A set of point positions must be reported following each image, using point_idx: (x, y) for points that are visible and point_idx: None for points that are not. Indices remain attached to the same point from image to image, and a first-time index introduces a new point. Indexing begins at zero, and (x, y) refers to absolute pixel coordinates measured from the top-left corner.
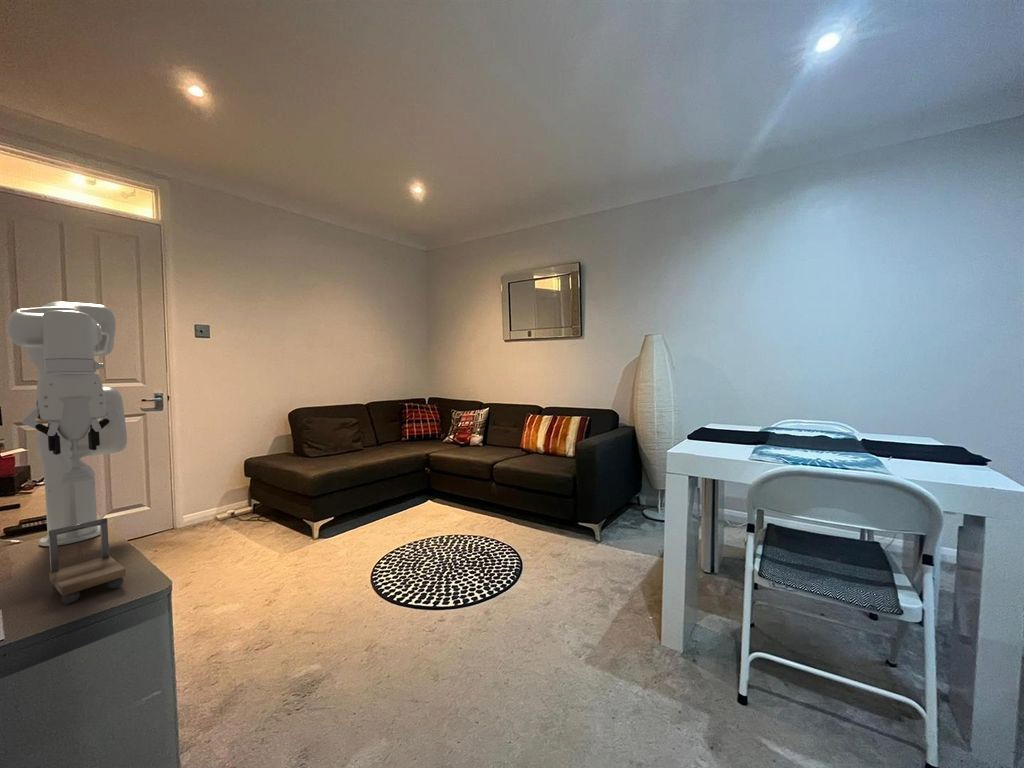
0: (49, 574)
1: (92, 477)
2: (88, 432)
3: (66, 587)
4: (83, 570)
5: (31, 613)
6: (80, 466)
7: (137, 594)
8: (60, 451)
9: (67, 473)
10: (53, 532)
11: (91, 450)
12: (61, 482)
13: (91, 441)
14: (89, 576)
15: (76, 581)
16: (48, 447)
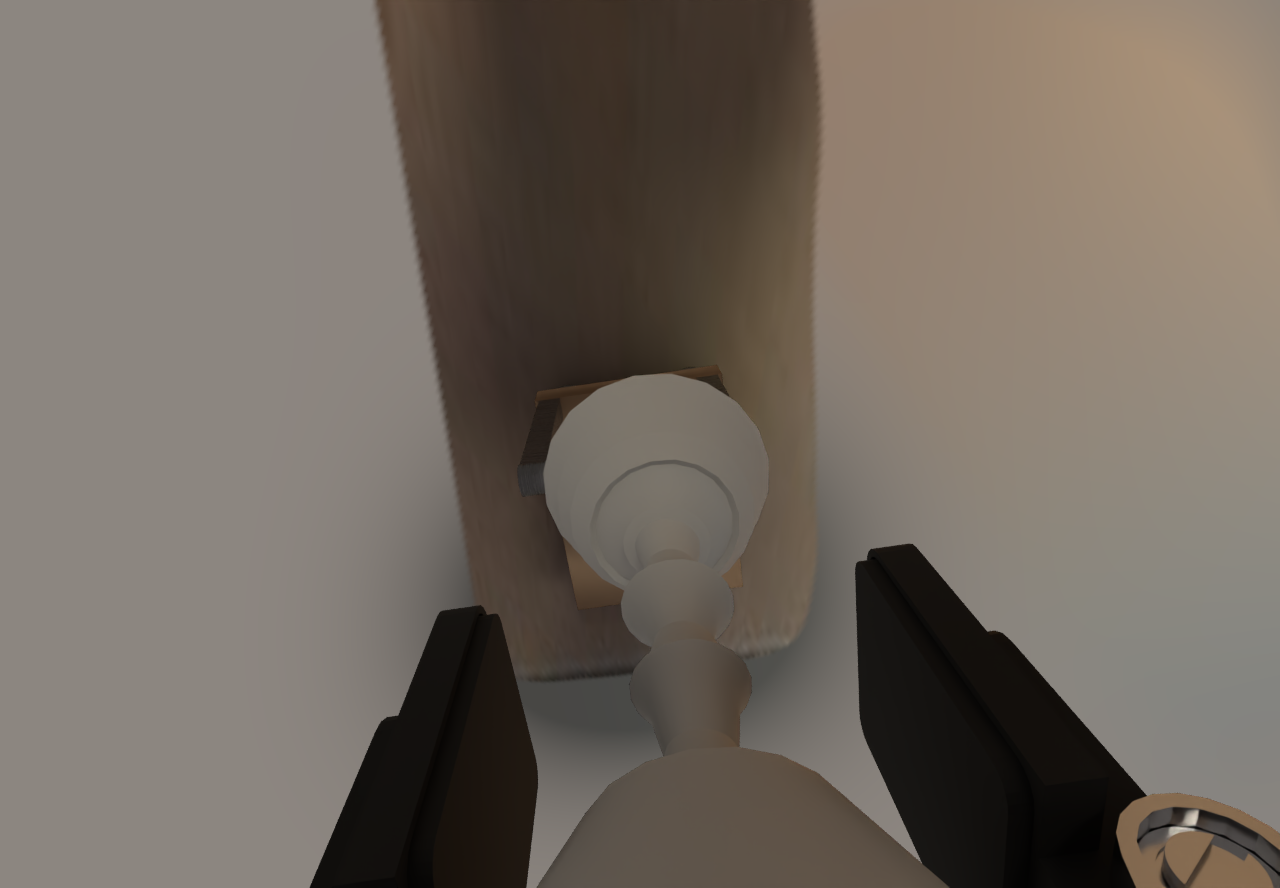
0: (535, 398)
1: (763, 501)
2: (1011, 818)
3: (589, 607)
4: None
5: (511, 535)
6: (703, 550)
7: (745, 625)
8: (535, 801)
9: (597, 568)
10: (538, 494)
11: None
12: (557, 525)
13: (912, 833)
14: None
15: (613, 587)
16: (373, 745)
